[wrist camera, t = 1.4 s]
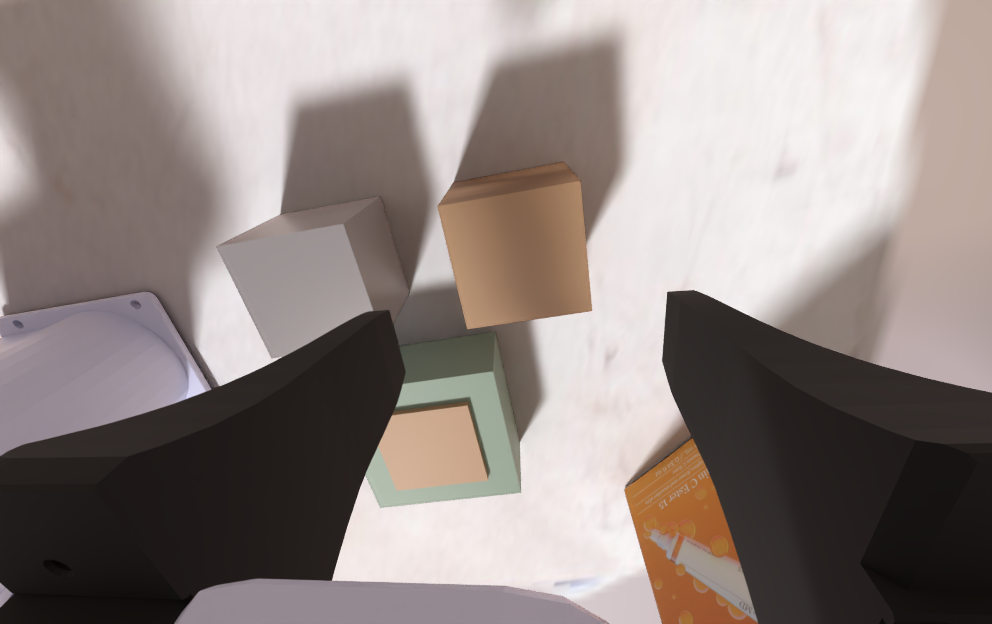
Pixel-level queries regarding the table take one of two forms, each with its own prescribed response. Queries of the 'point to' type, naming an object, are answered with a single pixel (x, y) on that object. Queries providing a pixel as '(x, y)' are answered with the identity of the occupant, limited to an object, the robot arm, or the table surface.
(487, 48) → the table surface
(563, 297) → the walnut cube
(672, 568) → the small box
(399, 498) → the green block
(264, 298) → the grey cube
